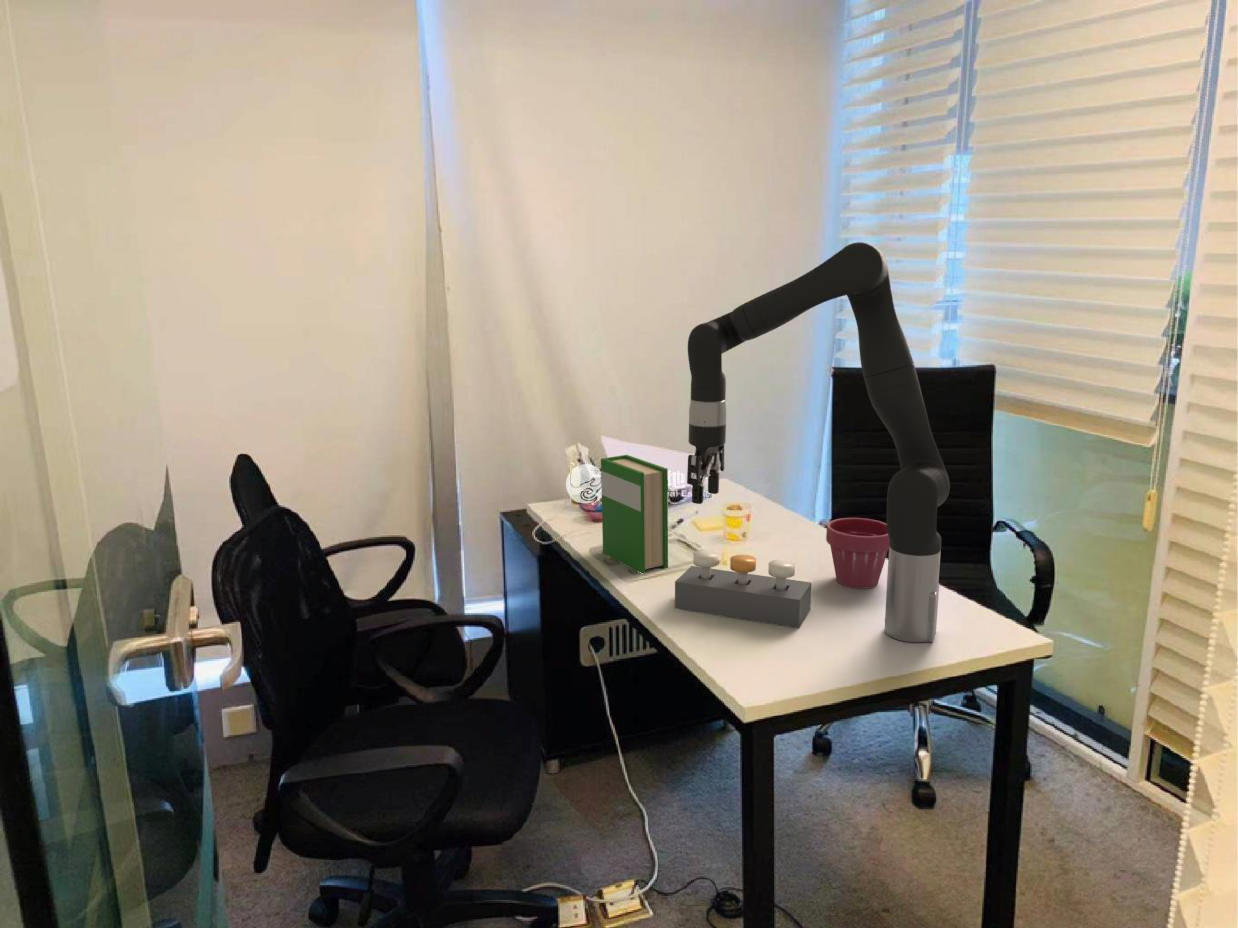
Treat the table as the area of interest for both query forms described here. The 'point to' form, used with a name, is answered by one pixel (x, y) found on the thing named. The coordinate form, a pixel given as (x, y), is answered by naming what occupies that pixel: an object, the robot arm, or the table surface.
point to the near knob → (781, 572)
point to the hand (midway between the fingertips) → (705, 498)
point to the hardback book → (635, 512)
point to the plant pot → (858, 550)
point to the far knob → (705, 562)
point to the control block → (743, 597)
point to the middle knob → (743, 567)
